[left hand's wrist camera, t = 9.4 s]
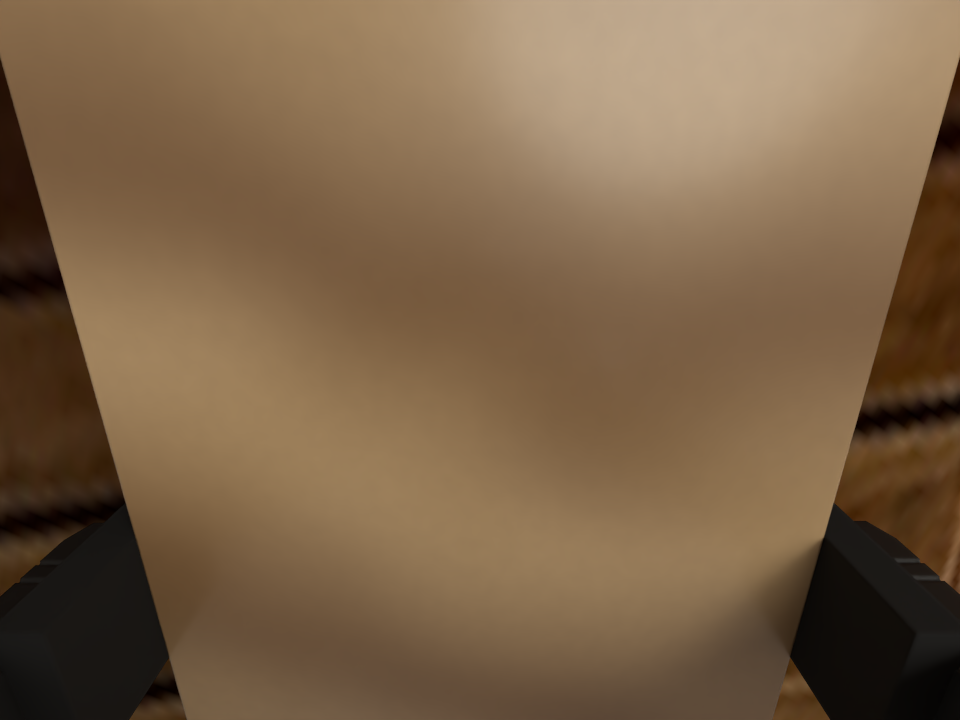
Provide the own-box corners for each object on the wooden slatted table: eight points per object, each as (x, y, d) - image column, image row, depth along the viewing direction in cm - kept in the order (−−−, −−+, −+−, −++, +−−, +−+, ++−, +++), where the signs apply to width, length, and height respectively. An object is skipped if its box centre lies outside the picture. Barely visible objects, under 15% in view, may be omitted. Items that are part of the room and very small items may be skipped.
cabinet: (217, -293, 11) (-421, -1422, 3) (743, -292, 11) (1378, -1415, 3) (318, 503, 18) (195, 756, 10) (640, 503, 18) (763, 756, 10)
